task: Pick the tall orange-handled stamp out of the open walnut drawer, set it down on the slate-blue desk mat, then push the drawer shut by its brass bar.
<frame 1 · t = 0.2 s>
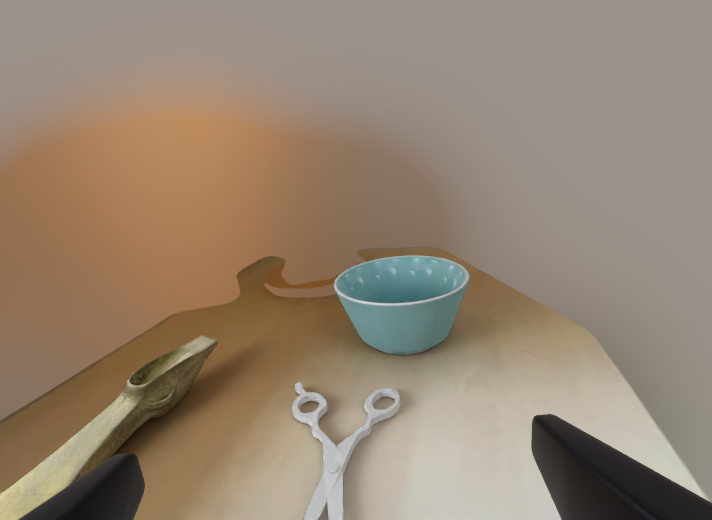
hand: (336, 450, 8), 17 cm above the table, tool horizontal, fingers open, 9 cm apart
bowl: (405, 338, 46), on the table
scissors: (333, 469, 28), on the table
tool: (132, 430, 36), on the table
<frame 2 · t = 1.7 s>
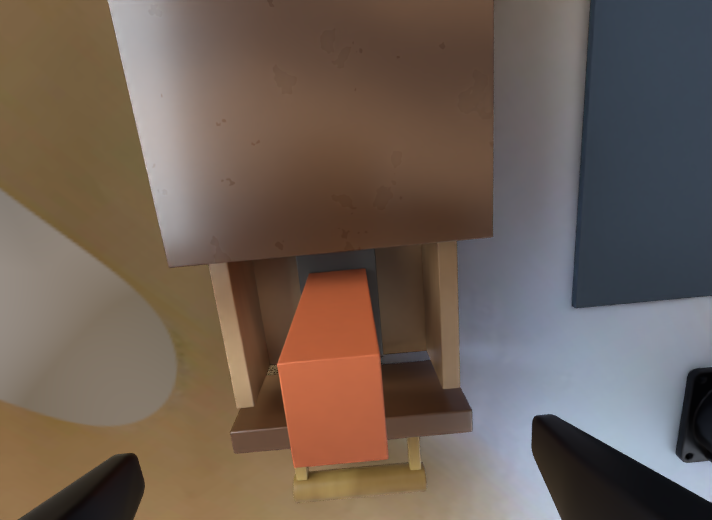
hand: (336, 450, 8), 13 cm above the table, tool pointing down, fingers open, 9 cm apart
cabinet: (320, 82, 18), on the table
stamp: (341, 291, 19), point 2 cm above the table, touching drawer
drawer: (344, 337, 18), point 3 cm above the table, slide at 8.0 cm, touching stamp
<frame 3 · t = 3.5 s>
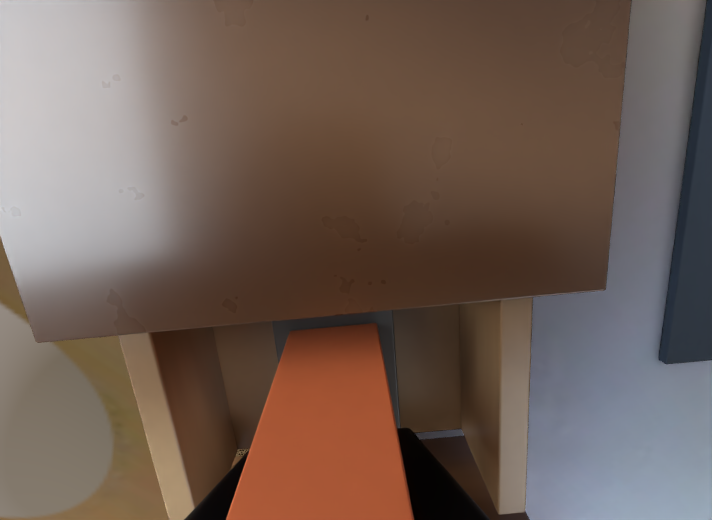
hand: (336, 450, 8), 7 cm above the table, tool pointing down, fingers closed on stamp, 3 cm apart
cabinet: (309, 40, 12), on the table
stamp: (339, 348, 13), point 2 cm above the table, touching drawer, gripper
drawer: (344, 420, 12), point 3 cm above the table, slide at 8.0 cm, touching stamp
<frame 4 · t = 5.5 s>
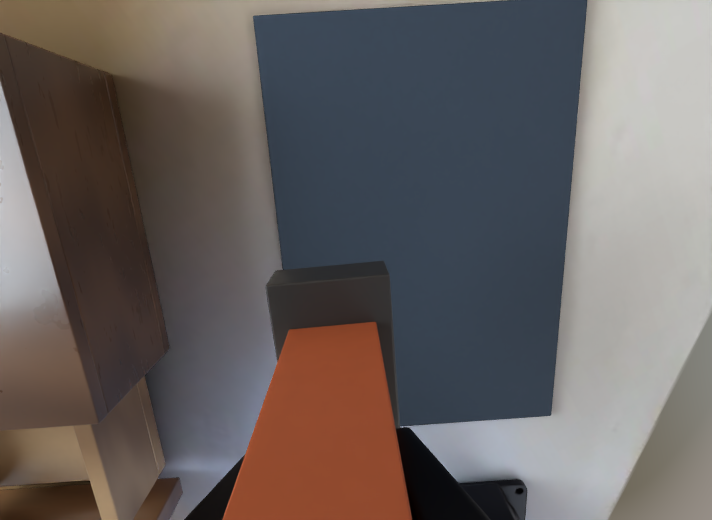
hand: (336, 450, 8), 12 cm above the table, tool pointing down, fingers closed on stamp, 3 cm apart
cabinet: (25, 232, 19), on the table
stamp: (338, 347, 13), point 7 cm above the table, touching gripper
mat: (423, 244, 20), on the table
drawer: (43, 473, 19), point 3 cm above the table, slide at 8.0 cm
when the fingers open (5 cm above the table, at t = 7.8 s): stamp stays where it is, resting on mat.
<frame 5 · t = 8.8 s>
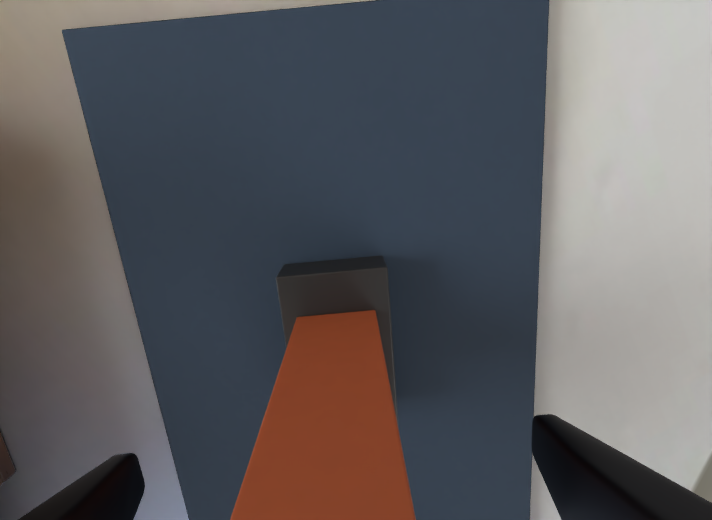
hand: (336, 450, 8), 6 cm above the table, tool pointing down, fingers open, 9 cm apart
stamp: (341, 335, 14), resting on mat
mat: (341, 330, 14), on the table
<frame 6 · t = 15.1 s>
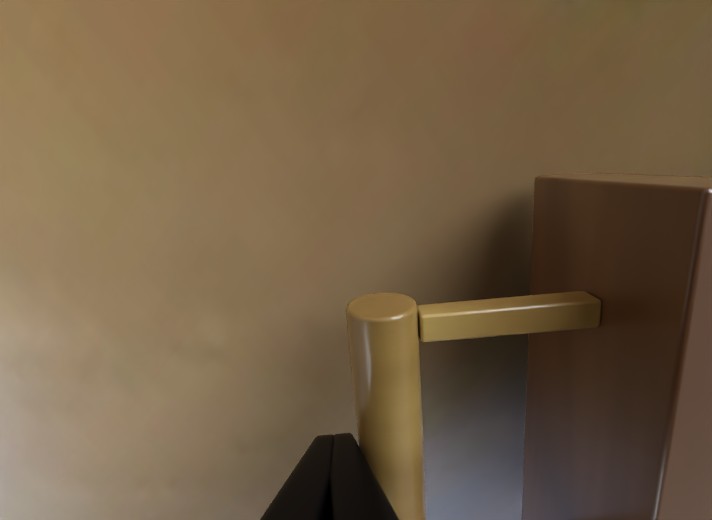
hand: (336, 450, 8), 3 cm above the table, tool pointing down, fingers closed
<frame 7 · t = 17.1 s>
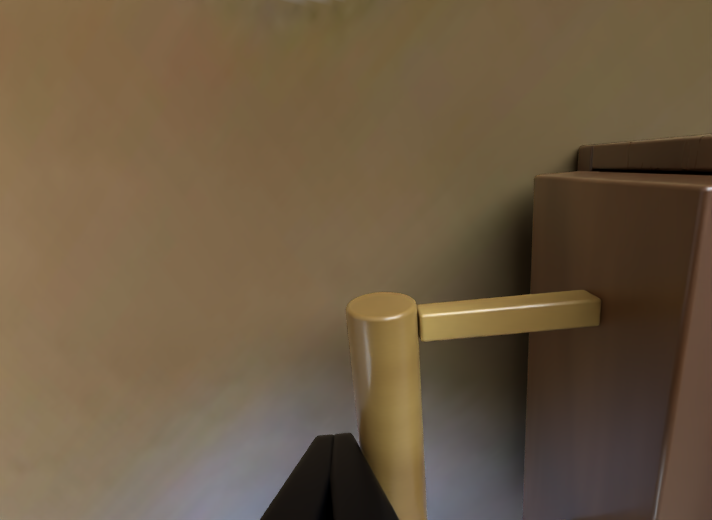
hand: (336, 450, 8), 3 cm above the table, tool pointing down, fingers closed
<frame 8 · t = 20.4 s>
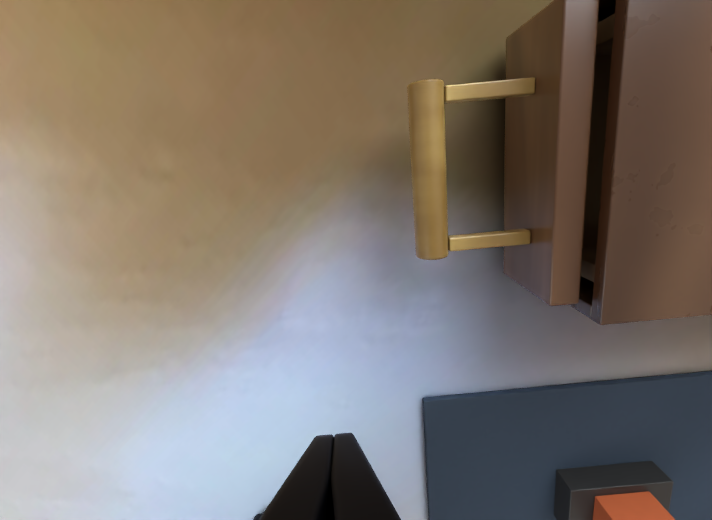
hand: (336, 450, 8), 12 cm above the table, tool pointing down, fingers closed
cabinet: (668, 149, 19), on the table
stamp: (601, 487, 23), resting on mat
mat: (597, 482, 24), on the table
drawer: (625, 155, 16), point 3 cm above the table, slide at 0.3 cm
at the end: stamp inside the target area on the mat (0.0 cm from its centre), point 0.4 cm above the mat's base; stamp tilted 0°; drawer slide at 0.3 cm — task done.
